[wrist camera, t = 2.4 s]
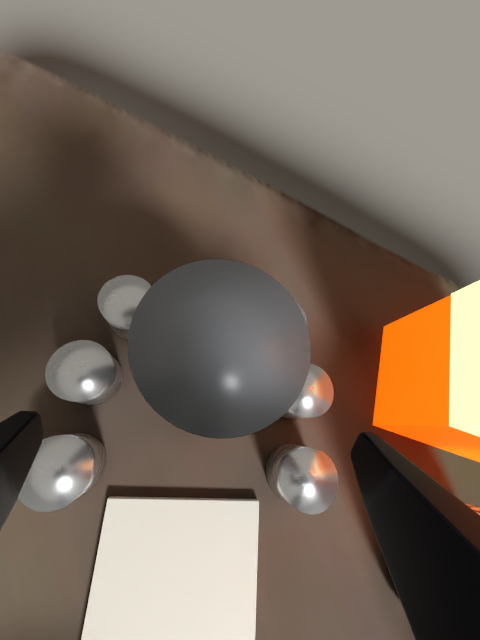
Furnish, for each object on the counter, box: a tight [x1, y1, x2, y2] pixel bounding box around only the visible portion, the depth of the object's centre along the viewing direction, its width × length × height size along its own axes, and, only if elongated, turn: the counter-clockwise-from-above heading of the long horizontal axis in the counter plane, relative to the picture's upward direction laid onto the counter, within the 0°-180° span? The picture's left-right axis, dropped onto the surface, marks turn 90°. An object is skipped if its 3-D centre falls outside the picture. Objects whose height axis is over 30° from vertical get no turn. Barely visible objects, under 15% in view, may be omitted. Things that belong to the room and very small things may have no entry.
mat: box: [81, 496, 259, 640], centre depth 14 cm, size 10×8×1 cm
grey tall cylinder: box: [128, 259, 311, 438], centre depth 13 cm, size 5×5×11 cm
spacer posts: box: [18, 275, 338, 514], centre depth 17 cm, size 12×15×3 cm
